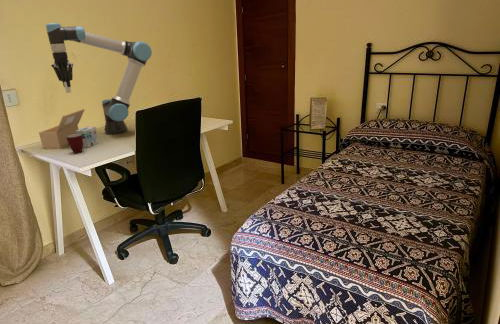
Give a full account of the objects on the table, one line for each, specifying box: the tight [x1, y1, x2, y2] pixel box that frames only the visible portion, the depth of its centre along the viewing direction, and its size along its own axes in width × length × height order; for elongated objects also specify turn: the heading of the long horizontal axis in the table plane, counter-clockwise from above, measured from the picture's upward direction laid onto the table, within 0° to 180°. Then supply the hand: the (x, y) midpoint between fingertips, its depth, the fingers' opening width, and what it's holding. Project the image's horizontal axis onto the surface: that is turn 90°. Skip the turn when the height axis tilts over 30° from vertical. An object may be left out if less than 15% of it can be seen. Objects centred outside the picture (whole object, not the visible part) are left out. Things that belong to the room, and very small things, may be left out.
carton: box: [38, 124, 79, 149], centre depth 219 cm, size 12×20×10 cm, turn 170°
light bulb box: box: [76, 126, 99, 149], centre depth 212 cm, size 11×7×11 cm, turn 168°
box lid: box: [56, 108, 86, 132], centre depth 213 cm, size 12×20×1 cm
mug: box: [67, 134, 83, 154], centre depth 201 cm, size 10×8×10 cm
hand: (68, 92), depth 209 cm, fingers closed
